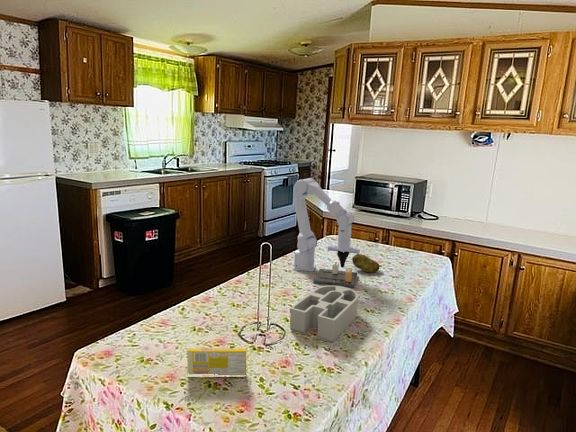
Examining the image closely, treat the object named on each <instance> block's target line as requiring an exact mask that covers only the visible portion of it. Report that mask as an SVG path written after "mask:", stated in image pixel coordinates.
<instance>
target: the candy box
mask: <svg viewBox="0 0 576 432" xmlns="http://www.w3.org/2000/svg"><path fill="white" fill-rule="evenodd" d="M186 358H187V374H188V373H189V374H214V375H215V374H218V375H246V376H247V348H237V347H236V348H187V351H186Z"/></svg>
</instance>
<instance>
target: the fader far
mask: <svg viewBox="0 0 576 432" xmlns="http://www.w3.org/2000/svg"><path fill="white" fill-rule="evenodd" d="M339 266H340V262H337V261H335V262H334V261H333V263H332V269H331V270H332V274H338V271H340V270H339Z"/></svg>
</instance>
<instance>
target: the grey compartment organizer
mask: <svg viewBox="0 0 576 432" xmlns="http://www.w3.org/2000/svg"><path fill="white" fill-rule="evenodd" d="M358 302H359V293H357V292H356V290H354V289H353V288H348V287H342V286H333V285H322V286H318V287H317V288H315V289H314V290H312V291H311V292H309V293H308V294H306V295H305V296H304V297H303V298H301V299H300V300H298V301H297V302H295V303H294V304H293V305H291V306H290V307H289V313H290V314H289V315H290V317H289V321H290V322H289V328H290V331H291V330H292V331H291V332H295V333H297V334H301V335H305V334H306V333H307V332H309V331H310V330H311V329H312V328H313V329H317V338H318V340H321V341H324V342H328V343H330V344H334V343H335V341H336V340H337V339H338V338H339V337H340V336H341V335H342V334H343V333H344V331H346V329H347V328H349V326H351V324H352V323H353V322H354V321H355V320H356V317H357V313H358Z"/></svg>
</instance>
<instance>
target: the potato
mask: <svg viewBox="0 0 576 432" xmlns="http://www.w3.org/2000/svg"><path fill="white" fill-rule="evenodd" d="M351 261H352V264H353V266H354V267H355V268H356V269H360V270H361V271H362V272H365V273H375V272H378V271H379V270H380V263H378V262H377V261H376V260H374V259H372V258H370V257H368V256H367V255H365V254H362V253H359V254H357V253H355V255H354V256H352V258H351Z"/></svg>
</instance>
